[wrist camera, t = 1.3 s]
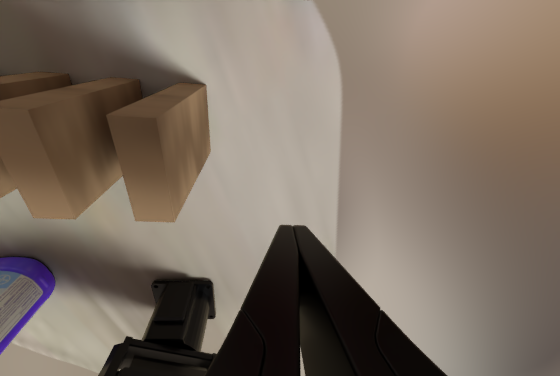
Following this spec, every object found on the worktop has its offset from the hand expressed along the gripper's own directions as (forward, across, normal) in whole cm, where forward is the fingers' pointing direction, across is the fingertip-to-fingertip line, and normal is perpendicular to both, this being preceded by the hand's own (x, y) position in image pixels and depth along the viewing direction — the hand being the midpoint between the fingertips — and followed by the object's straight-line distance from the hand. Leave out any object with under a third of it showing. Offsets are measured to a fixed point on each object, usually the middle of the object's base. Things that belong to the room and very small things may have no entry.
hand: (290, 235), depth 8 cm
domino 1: (+12, +6, 0) cm, 14 cm away
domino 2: (+12, +10, 0) cm, 16 cm away
